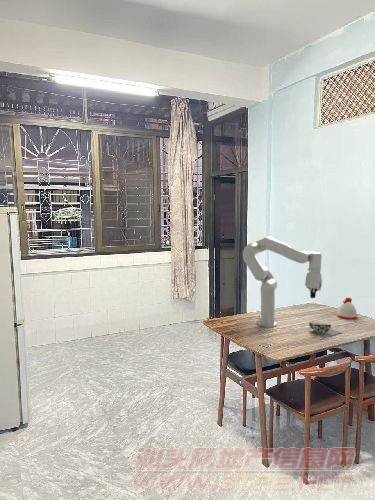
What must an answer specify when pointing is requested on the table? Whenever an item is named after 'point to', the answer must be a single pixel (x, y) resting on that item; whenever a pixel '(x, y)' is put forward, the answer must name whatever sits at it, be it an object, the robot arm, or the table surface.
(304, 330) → the table surface
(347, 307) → the white bobble hat
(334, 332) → the mat
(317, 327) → the food container
